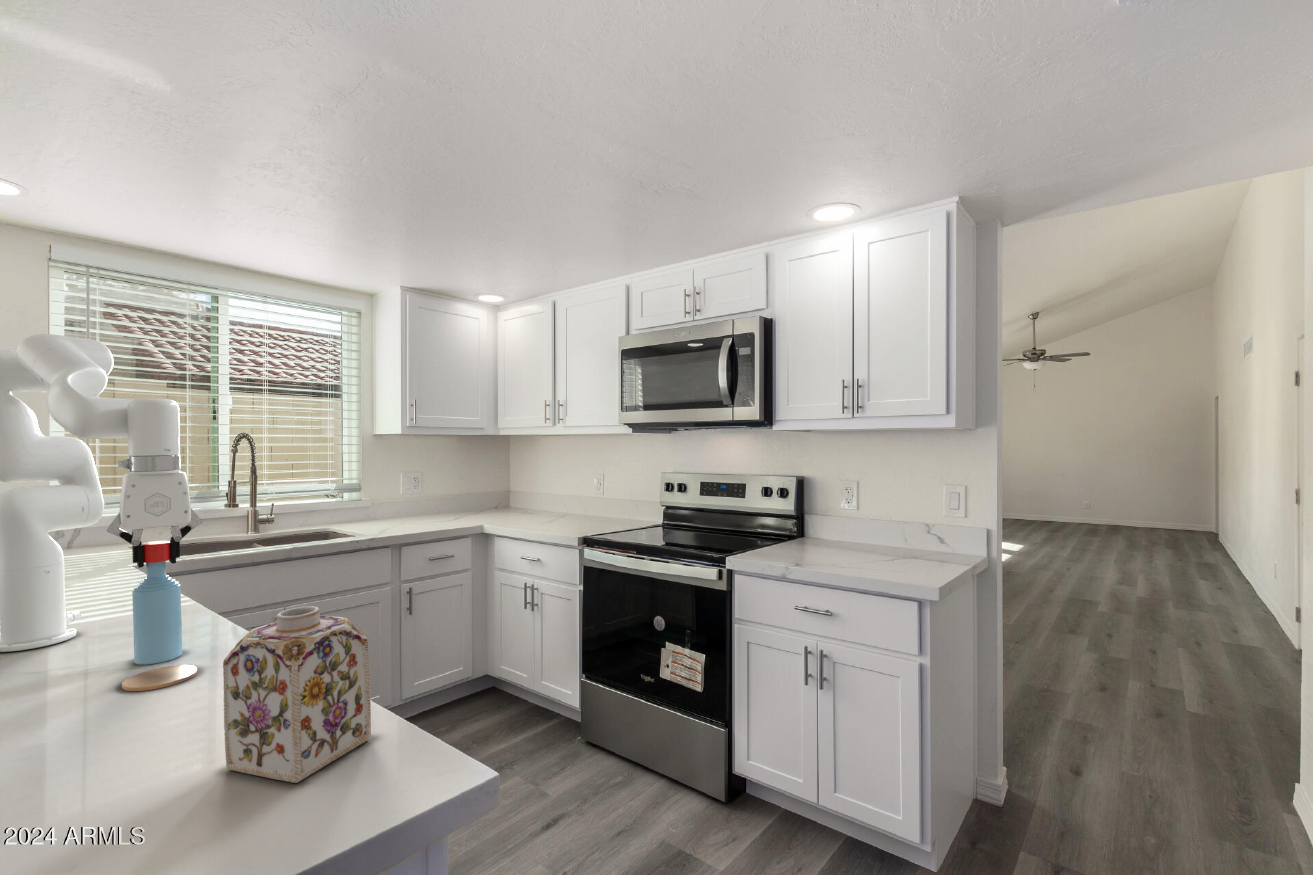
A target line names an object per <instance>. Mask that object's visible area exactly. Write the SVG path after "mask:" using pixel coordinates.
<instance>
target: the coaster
mask: <svg viewBox="0 0 1313 875" xmlns="http://www.w3.org/2000/svg"><path fill="white" fill-rule="evenodd" d="M196 675H198V668H197V666H195V665H189V664H179V665H178V664H177V665H169V666H163V667H158V668H152V669H149V670H145V671H142V672H139V673H137V674H134V675H131V676H129V677H127V678H125V679H124V680H123V681H122V683H121V689H122V690H123V691H125V692H126V691H127V692H144V691H152V690H159V689H162V688H168V687H171V686H174V685H178V684H181V683H183V682H186V681H188V680H190V679H192V678H194V677H195V676H196Z"/></svg>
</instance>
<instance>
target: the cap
mask: <svg viewBox="0 0 1313 875" xmlns="http://www.w3.org/2000/svg"><path fill="white" fill-rule="evenodd" d="M170 543H171V542H170V540H153V541H146V542H143V543H142V545H143V546H144V564H146V563H154V562H163V561H166V562H167V561H168V562H169V560H170V559H171V547H170Z"/></svg>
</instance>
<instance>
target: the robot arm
mask: <svg viewBox="0 0 1313 875" xmlns="http://www.w3.org/2000/svg"><path fill="white" fill-rule="evenodd" d="M113 367H114V357H113V354H112V351H111V350H110V349H109V347H108V346H107V345H106V344H104V343H103V342H101V341H99V340H96V339H93V338H86V337H76V336H69V335H61V334H51V333H38V334H33V335H29V336H27V337H25V338H23V339H22V340H20V341H19V343H18V344H17V346H16V349H11V348H0V482H3V483H8V484H10V483H11V484H13V483H14V484H19V483H21V484H22V483H39V482H55V481H56V482H57V483H58V484H53V485H52V484H49V485H48V484H47V485H33V486H21V487H15V488H10V489H7V490H4V491H1V492H0V653H6V652H7V653H9V652H19V651H27V650H33V649H37V648H38V649H39V648H43V647H48V646H51V645H55V644H58V643H62V642H66V641H68V640H71V639H73V638H74V637H75V636H76V635H77V629H76V628H75V627H69V624H70V623H71V622H74V621H77V620H79V619H80V618H81V617H82V614H81V612H80V611H79V610H74V611H71V612H68V611H67V612H66V582H65V579H66V578H65V556H64V551H63V549H62V547H61V545H60V544H59V543H58V542H57V541H56V540H54V539H53V537H52V536H50V534H49V533H50V532H57V531H64V530H72V529H79V528H86V527H90V526H93V525H95V524H97V523H98V522H99V521H100V520H101V519H102V517H103V515H104V512H105V500H104V496H103V491H102V487H101V484H100V480H99V476H98V472H97V467H96V464H95V459H94V457H93V453H92V451H91V449H90V448H89V446H88V445H87V444H86V443H85V442H84V441H82V440H81V439H86V440H103V439H104V440H105V439H108V440H109V439H110V440H111V439H112V440H113V439H114V440H115V439H118V440H119V439H124V440H127V458H125V459H123V460H120V459H119V460H117V468H118V469H126V470H127V471H128V473H124V474H123V477H122V481H121V490H120V495H119V496H120V497H119V511H118V513H117V514H116V515H115V517H114V518H113V519H112V521H111V522H110V523H109V524H108V525H107V527H106V528H105V531H106V532H107V533H109V534H111V535H114V536H115V537H119V538H121V539H122V540H124V541H125V542H127V543H128V544H130V545H131V546H132V547H131V548H132V550H131V551H132V555H131V556H132V564H136V566H137V567H138V568H144V567H145V563H144V546H143V545H142V544H143V543H142V535H143V531H144V530H146V529H157V528H169V532H170V536H171V537H170V538H169V541H170V542H171V543H170V547H171V559H170V560H168V562H169V563H170V564H176V563H177V559H179V558H181V541H182V540H183V539H184V537H186V536H187V535H188V534H189V533H190V532H191V531H192V530H194V529H195V528H197V527H199V526H200V525H202V523H203V520H202V519H201V518H200V516H199V515H198V514H197V513H196V512H195V511H194V510H193V508H192V507H191V506H192V505H191V504H192V503H191V494H190V487H189V480H188V475H187V473H186V471H181V455H180V454H181V449H180V448H181V447H180V446H181V445H180V444H181V441H180V407H179V404H178V403H177V402H176V401H175V400H173V399H169V398H120V397H119V398H118V397H98V396H100V394H102V393H103V391H104V390H105V389H106V387H107V384H108V376H109V374H110V373H111V372H112V370H113ZM12 392H25V393H27V392H29V393H46V406H47V410H48V412H49V415H50V417H51V418H52V420H54V422H55V423H57V424H58V425H59V426H60V427H62V428H63V430H65V431H66V432H68V433H69V434H71V435H72V436H68V435H67V436H65V435H64V436H63V435H53V436H52V435H51V436H49V435H45V434H43V433H42V432H41V430H40V427H39V423H38V419H37V416H36V414H35V412H34V411H33V410H32V408H30V407H29V406H28V405H27V403H25V402H24V401H22V399H20V398H18V397H16V396H15V395H14V394H13V393H12ZM73 436H75V437H73ZM79 438H81V439H79ZM120 526H122V527H123V528H124V529H127V530H131V533H129V532H128V531H126V530H124V529H121V528H120ZM180 526H181V527H180Z"/></svg>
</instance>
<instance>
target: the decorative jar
mask: <svg viewBox="0 0 1313 875" xmlns="http://www.w3.org/2000/svg"><path fill="white" fill-rule="evenodd" d="M369 654H370V653H369V640H368V638H367V636H365V635H364V633H363V632H362V631H361V629H358V627H357V626H356V625H355V624H354V623H352V622H351V621H350V620H349V619H348V618H347V617H343V616H334V615H321V612H320V608H319V607H318V606H315V605H306V606H298V607H297V606H296V607H293V608H289V609H284V610H282V611H280V612H278V613H277V614H276V621H275V622H271V623H268V624H264V625H260V626H258V627H255V628H253V629H250V630H249V631H248V632H247V633H246V634H245V635H244V636H243V637H242V638H241V639H240V640H239V641H238V642H237V643H236V644H235V646H234V647H233V648H232V649H231V650H230V651H229V653H228V654H227V655H226V657H225V658H224V659H223V662H222V669H223V670H222V673H223V674H222V675H223V677H222V678H223V730H224V733H223V735H224V753H225V769H226V770H227V771H234V772H239V773H243V774H247V775H253V776H257V777H262V778H266V779H270V780H275V781H276V780H277V781H282V782H289V783H292V784H297V783H299V782H301V781H303V780H305V779H307V778H308V777H309V776H311V775H313V774H314V773H316V772H318V771H319V770H321V769H323V768H324V767H326V766H328V765H330V764H331V763H333V762H334V761H336V760H337V759H339V758H341V757H343V756H344V755H347V753H349V752H351V751H352V750H354V749H356V748H357V747H359V746H361V745H362V744H364V743H366V742H368V741H369V740H370V738H371V736H372V709H371V707H372V706H371V705H372V704H371V703H372V701H371V682H370V680H371V679H370V656H369Z"/></svg>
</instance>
